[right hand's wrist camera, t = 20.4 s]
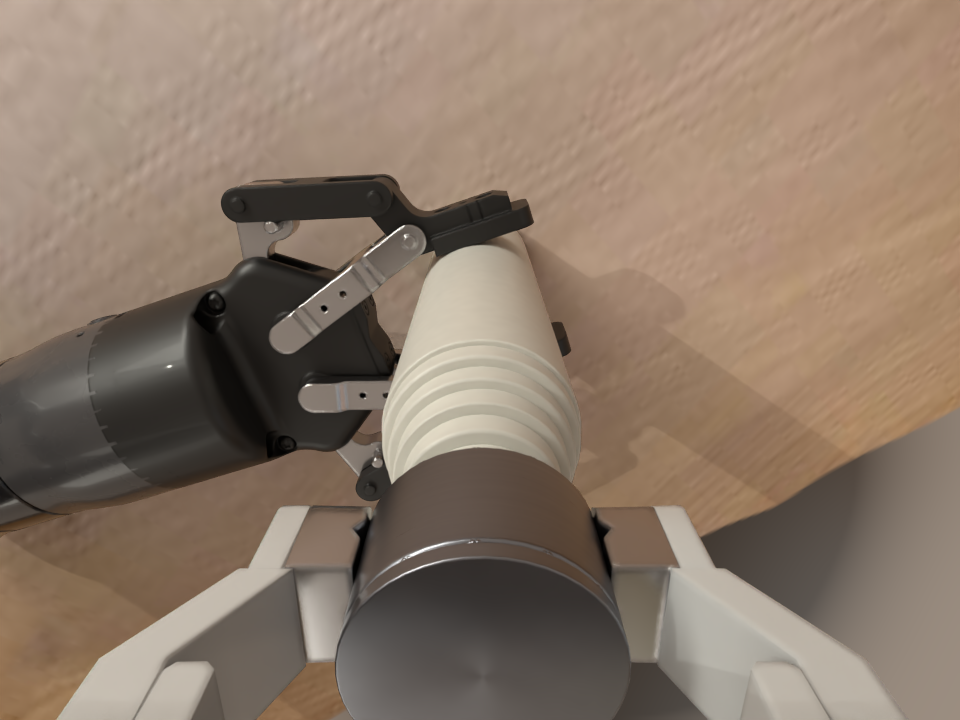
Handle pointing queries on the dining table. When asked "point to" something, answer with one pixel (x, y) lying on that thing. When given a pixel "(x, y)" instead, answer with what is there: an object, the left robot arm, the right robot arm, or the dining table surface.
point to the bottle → (481, 366)
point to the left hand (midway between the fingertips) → (546, 275)
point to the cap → (482, 599)
